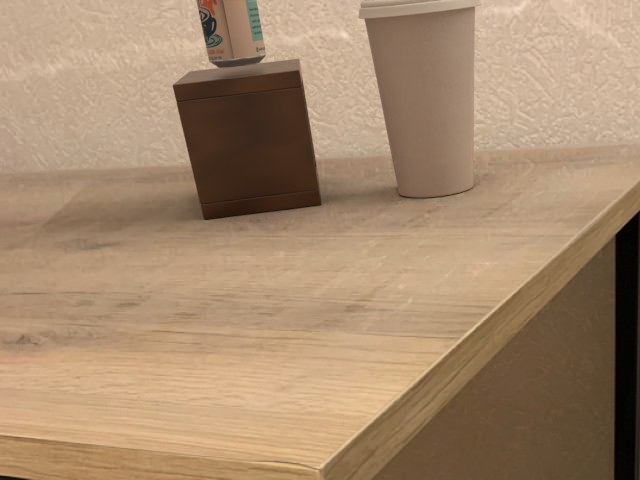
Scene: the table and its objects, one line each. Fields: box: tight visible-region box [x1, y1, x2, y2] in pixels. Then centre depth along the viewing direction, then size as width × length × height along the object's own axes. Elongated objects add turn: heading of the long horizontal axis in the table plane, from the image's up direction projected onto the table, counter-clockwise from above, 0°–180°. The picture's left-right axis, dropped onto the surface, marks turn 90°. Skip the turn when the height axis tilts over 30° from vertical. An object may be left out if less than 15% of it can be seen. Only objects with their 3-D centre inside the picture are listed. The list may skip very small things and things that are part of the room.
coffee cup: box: [358, 0, 481, 199], centre depth 73 cm, size 10×10×15 cm
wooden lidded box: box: [172, 58, 322, 220], centre depth 79 cm, size 10×13×10 cm
